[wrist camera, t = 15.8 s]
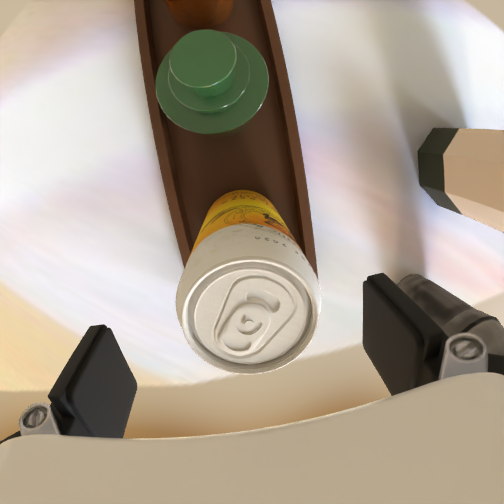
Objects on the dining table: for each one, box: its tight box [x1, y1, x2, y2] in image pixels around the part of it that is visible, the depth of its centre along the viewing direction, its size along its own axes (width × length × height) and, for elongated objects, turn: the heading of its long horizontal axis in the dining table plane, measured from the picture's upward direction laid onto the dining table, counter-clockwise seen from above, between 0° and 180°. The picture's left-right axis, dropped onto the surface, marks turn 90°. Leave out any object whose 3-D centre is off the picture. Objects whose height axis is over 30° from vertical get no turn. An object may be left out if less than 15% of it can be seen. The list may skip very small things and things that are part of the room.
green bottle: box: [156, 29, 269, 139], centre depth 16 cm, size 6×6×14 cm
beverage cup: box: [397, 274, 504, 356], centre depth 20 cm, size 7×7×20 cm
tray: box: [134, 0, 318, 279], centre depth 22 cm, size 11×30×3 cm, turn 10°
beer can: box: [176, 190, 322, 375], centre depth 19 cm, size 6×6×15 cm
